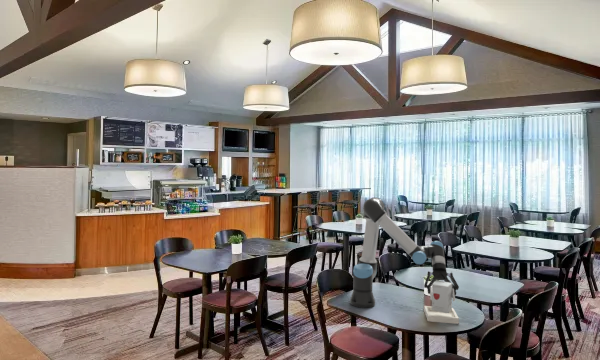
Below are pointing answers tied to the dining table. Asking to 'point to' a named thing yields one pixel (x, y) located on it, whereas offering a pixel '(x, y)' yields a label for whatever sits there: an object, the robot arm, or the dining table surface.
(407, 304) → the dining table surface
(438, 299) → the supplement box
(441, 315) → the stoneware dish
